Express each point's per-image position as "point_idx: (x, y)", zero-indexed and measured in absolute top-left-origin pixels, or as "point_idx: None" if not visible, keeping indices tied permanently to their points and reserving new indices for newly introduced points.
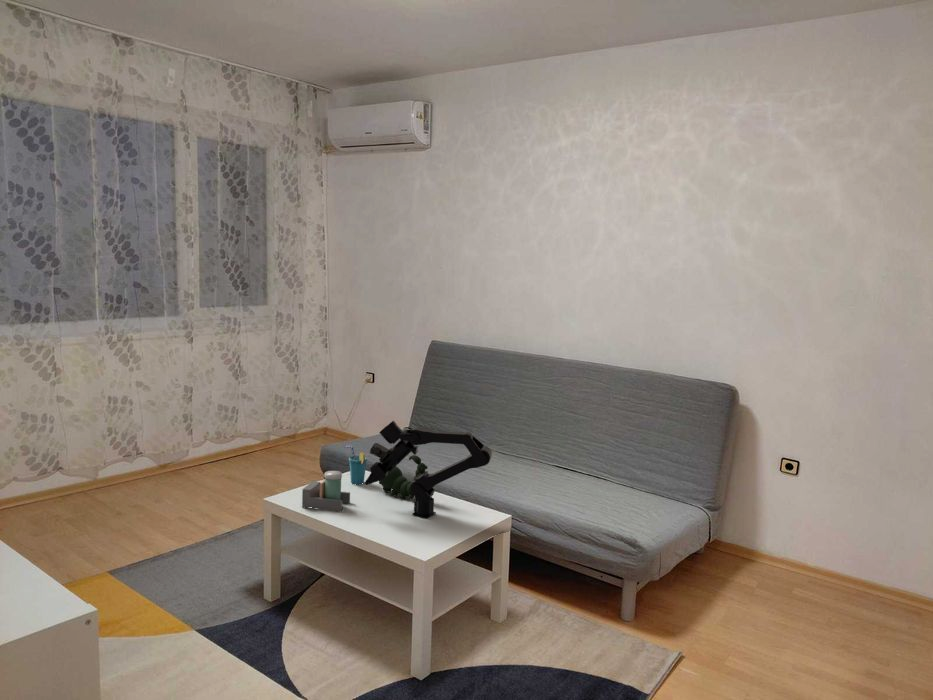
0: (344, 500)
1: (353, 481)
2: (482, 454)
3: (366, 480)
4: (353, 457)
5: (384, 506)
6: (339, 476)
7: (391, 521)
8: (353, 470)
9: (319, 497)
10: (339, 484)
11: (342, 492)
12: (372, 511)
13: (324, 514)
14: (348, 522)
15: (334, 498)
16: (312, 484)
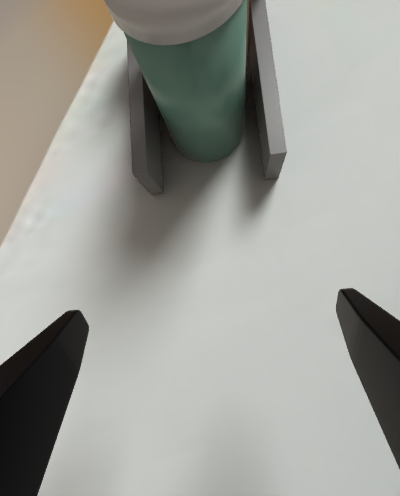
0: (263, 150)
1: None
2: None
3: (32, 343)
4: None
5: (296, 368)
6: (142, 24)
7: (100, 475)
8: None
9: (248, 33)
10: (173, 80)
11: (266, 114)
12: (200, 332)
13: (98, 149)
14: (40, 281)
15: (166, 122)
16: None
